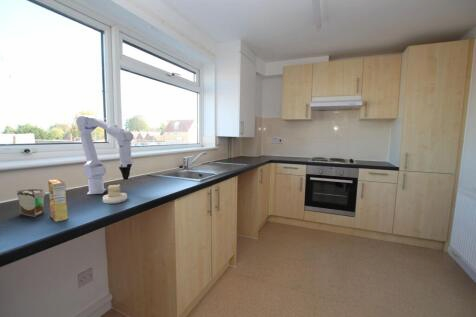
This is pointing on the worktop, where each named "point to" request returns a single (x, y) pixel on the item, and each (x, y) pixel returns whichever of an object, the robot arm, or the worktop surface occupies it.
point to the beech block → (114, 191)
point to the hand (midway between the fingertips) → (126, 178)
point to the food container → (31, 201)
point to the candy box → (57, 200)
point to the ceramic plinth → (114, 199)
